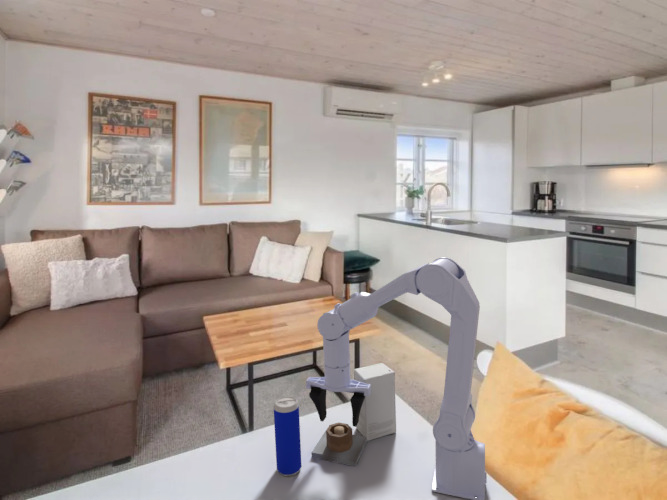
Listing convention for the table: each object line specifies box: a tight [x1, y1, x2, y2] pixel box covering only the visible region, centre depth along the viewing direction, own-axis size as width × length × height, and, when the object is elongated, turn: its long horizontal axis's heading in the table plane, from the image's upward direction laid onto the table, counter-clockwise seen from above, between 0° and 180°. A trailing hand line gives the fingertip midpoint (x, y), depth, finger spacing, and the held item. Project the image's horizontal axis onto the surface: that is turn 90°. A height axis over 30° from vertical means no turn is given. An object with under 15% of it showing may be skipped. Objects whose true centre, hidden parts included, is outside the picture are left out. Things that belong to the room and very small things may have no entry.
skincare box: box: [353, 362, 397, 442], centre depth 96 cm, size 8×7×16 cm
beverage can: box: [273, 395, 302, 477], centre depth 84 cm, size 5×5×15 cm
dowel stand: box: [311, 426, 368, 467], centre depth 90 cm, size 10×9×5 cm
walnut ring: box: [325, 422, 353, 453], centre depth 90 cm, size 5×5×4 cm
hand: (339, 421), depth 90 cm, fingers open, 7 cm apart
